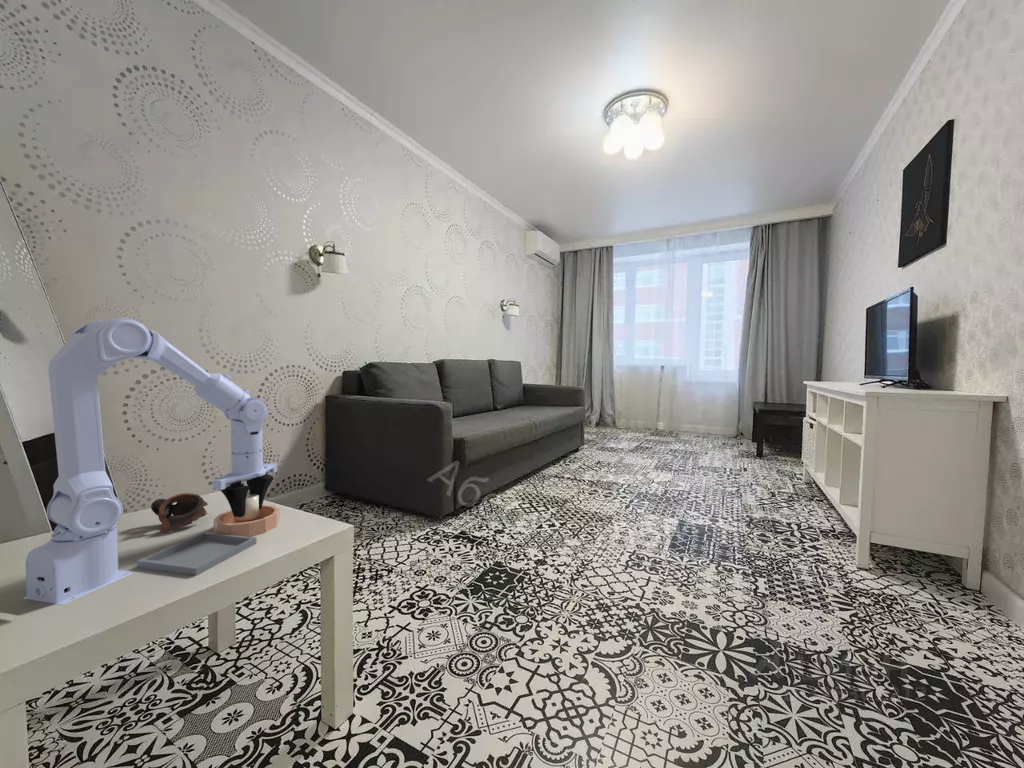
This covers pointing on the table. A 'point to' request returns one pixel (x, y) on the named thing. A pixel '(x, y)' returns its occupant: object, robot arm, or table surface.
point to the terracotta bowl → (247, 522)
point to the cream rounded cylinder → (251, 507)
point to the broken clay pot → (179, 510)
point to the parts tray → (197, 553)
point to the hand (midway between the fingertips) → (247, 512)
